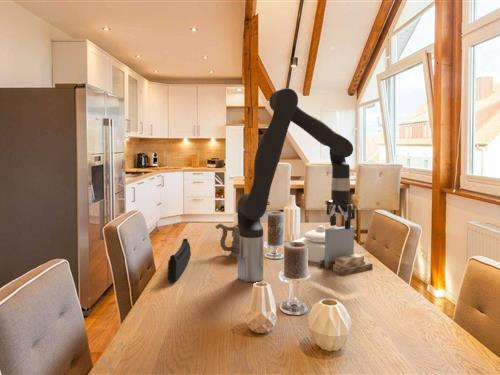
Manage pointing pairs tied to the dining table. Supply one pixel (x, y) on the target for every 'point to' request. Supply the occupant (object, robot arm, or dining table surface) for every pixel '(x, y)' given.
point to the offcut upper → (349, 260)
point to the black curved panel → (179, 261)
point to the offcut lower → (338, 268)
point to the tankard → (236, 239)
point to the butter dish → (315, 243)
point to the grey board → (338, 243)
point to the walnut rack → (344, 271)
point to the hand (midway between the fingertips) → (340, 227)
